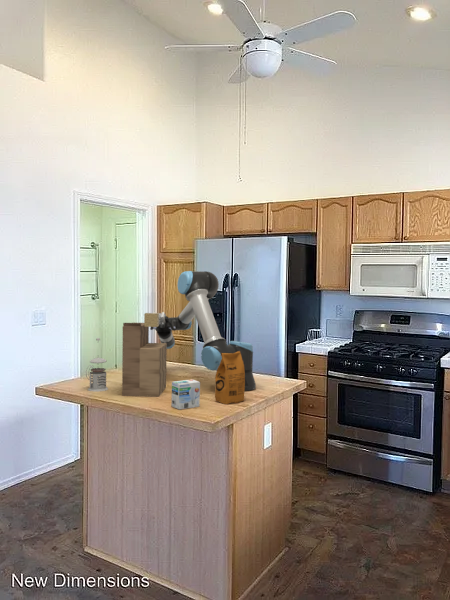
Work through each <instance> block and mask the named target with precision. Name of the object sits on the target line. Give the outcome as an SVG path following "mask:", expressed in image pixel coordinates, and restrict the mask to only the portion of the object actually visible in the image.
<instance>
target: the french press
mask: <svg viewBox="0 0 450 600" xmlns="http://www.w3.org/2000/svg"><path fill="white" fill-rule="evenodd" d="M95 340H96V341H97V342H99V341H101V338H100V337H97V338H96V339H95ZM106 362H107V359H105V358H102V357H99V356H97V357H95V358H92V359H90V360H89V363H90V364H89V365H88V366H87V368H86V371H85V376H86V379H87V380H88V381H89V387H88V388H87V391H89V392H106V391H108V390H109V388H108V387H107V371H106V369H107V368H103V367H94V365H93V364H103V363H104V364H105V363H106ZM91 364H92V365H91ZM88 368H89V369H88ZM88 377H89V378H88Z"/></svg>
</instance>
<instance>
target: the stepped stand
mask: <svg viewBox="0 0 450 600" xmlns="http://www.w3.org/2000/svg"><path fill="white" fill-rule="evenodd" d="M122 324H123V325H122V355H121V357H122V361H121V363H122V364H121V365H122V367H121V368H122V372H121V373H122V379H121V383H122V385H121V390H122V391H121V396H122V397H149V398H151V397H152V398H153V397H154V398H159V397H160V396H161V395H162V393H164V391H165V390H166V388H167V353H168V352H167V350H168V349H167V343H161V342H149V339H150V337H149V335H150V331H149V329H150V327H144V322H123V323H122Z"/></svg>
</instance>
